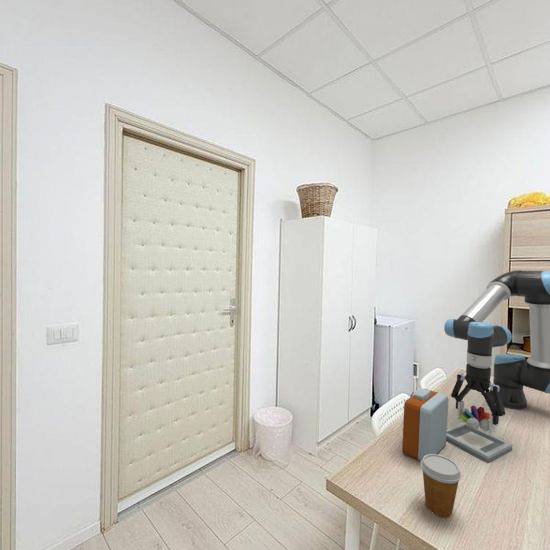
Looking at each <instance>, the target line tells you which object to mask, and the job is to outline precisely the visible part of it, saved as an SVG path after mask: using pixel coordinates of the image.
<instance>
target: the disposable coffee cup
mask: <svg viewBox="0 0 550 550" xmlns="http://www.w3.org/2000/svg"><path fill="white" fill-rule="evenodd" d="M420 467H421V469H422V476H423V477H422V480H423V490H424V491H423V492H424V502H425V507H426V508H427V510H428V509H429V510H430V511H429V512H430V513H432V512H433V513H434V515H435V514H436V515H435V516H437V515H438V517H440V516H441V517H440V518H450V517H451V516H452V515H453V510H454V505H455V500H456V497H457V491H458V488H459V487H458V485H459V481H460V480H461V478H462V472H461V471H460V466H459V465H458V464H457V463H456V462H455V461H453V460H452V459H451V458H449V457H446V456H445V455H441V454H428V455H425V456H424V457H423V459H422V461H420ZM433 513H432V514H433Z"/></svg>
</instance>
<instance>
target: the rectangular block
mask: <svg viewBox="0 0 550 550" xmlns="http://www.w3.org/2000/svg"><path fill="white" fill-rule="evenodd" d="M448 412H449V396H448V395H447V394H444V393H441V392H437V391H434V390H430V389H427V388H421V387H420V388H418V389H416V391H415V394H413V395H412V396H410V397H409V398H407V399H406V400H405V401H404V404H403V419H402V420H403V421H402V424H403V425H402V441H401V442H402V447H401V448H402V449H401V450H402V453H403V454H404V455H407V456H409V457H411V458H413V459H416V460H418V461H420V462H421V461H422V459H423V457H424V456H425V455H428V454H437V455H439V453H440V452H441V451H442V449H443V448H444V447H445V446H446V444H447V441H446V436H447V428H448Z"/></svg>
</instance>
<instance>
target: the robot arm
mask: <svg viewBox="0 0 550 550" xmlns="http://www.w3.org/2000/svg"><path fill="white" fill-rule="evenodd" d="M510 297H523V298H524V303H525V304H526V305H528V307H529V308H528V309H529V311H528V312H529V335H530V336H529V339H530V357H528V358H527V359H526V357H525V356H524V355H522V354H521V355H520V354H511V353H500V354H497V355H495V356H494V360H493V361H494V362H493V382H491V377H492V374H491V373H492V368H491V367H492V353H493V348H498V347H504V346H506V345H508V344H509V343H511V341H512V339H513V338H512V337H513V336H512V333H511V331H510V329H509V328H507V327H506V326H503V325H497V324H496V325H493V324H492V323H489V322H485V320H486V319H487V318H488V316H490V315H491V314H492V312H494V311H495V310H496V309H497V307H499V305H500V304H501V303H502V302H503V301H506V300H509V299H510ZM443 327H444V333H445V335H446V336H448V337H452V338H454V339H459V340H463V341H467V348H466V354H467V355H466V366H465V374H463V373H459V374H457V375H456V382H455V384H454V386H453V389H452V391H451V394H450V397H451V398H453V399H455V409H456V410H457V414H456V416H457V417H456V419H457V420H462V419H461V413H462V412H463V411H464V409H465V401H464V400H463V399H464V398H465V397H466V396H467V395H468V393H469V392H470V391H471V390H472V391H477V392H478V393H480V394H481V395H482V396H483V398H484V400H485V403H486V404H487V406H488V408H489V410H490V412H491V413H490V417H489V431H488V433H489V434H491V435H493V434H494V433H496V426H498V425H499V420H500V419H499V418H500V417H504V416H505V415H506V414H507V413H506V409H505V408H508V409H514V410H526V409H527V408H528V401H527V398H526V394H525V392H524V387H525V388H529V389H531V390H535V391H539V392H542V393H544V394H548V395H549V394H550V271H549V270H521V269H520V270H518V269H517V270H511V271H508V272H506V273H503V274H501V275H498V276H497V277H495V278H494V279H492V280H491V281H490V282H489V283H488V284H487V285H486V289H485V291H484V292H483V293H481V295H479V297H478V298H477V299H475V300H474V302H473V303H472V304H471V305H470V306H469V307H467V309H466V310H465V311H464V312H463V313H462V314H461V315H459V317H458V318H457V319H455V318H449V319H447V320H446V321H445V323H444V326H443ZM465 381H466V383H467V384H465V386H464V388H463V389H462V390H461V388H462V385H463V383H464V382H465Z"/></svg>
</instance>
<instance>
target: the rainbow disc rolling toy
mask: <svg viewBox="0 0 550 550" xmlns="http://www.w3.org/2000/svg"><path fill="white" fill-rule="evenodd" d="M490 414H491V413H489V412H487V411H485V408H484V407H482V406H479V407H476V406H475V405H471V406H470V410H469V409H468V408H465V407H464V411H463V412H462V413H461V419H460V420H462V421H463V422H465V423H467V425H468V427H469V428H471V429H477V428H478V429H480V430H482V431H485V432H489V417H490Z"/></svg>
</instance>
